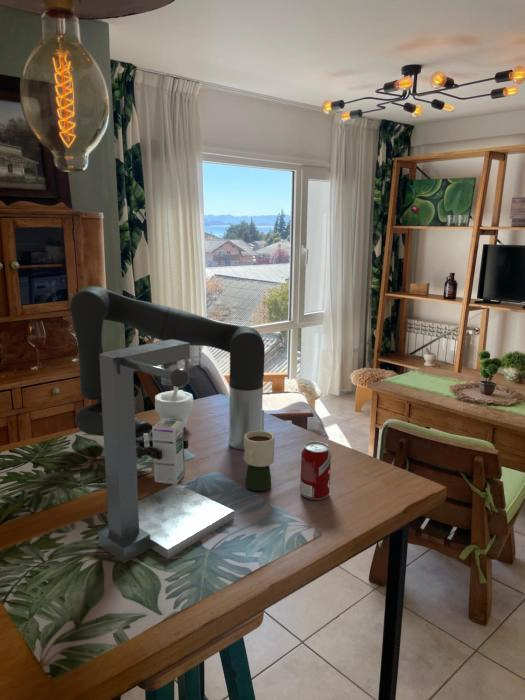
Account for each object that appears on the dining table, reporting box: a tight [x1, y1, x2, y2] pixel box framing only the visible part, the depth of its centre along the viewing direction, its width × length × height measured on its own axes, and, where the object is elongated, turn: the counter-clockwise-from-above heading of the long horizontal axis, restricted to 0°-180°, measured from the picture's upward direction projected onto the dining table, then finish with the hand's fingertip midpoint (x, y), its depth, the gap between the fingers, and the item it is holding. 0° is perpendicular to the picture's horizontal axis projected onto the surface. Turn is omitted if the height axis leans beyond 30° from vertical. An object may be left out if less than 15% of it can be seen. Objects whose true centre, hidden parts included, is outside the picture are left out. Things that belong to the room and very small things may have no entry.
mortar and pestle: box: [154, 357, 194, 429], centre depth 156 cm, size 13×12×25 cm
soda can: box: [299, 441, 332, 501], centre depth 119 cm, size 7×7×12 cm
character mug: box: [243, 430, 276, 491], centre depth 122 cm, size 11×7×13 cm, turn 157°
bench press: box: [97, 339, 235, 564], centre depth 99 cm, size 24×27×38 cm
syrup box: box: [152, 418, 186, 485], centre depth 125 cm, size 6×6×14 cm
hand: (174, 450), depth 123 cm, fingers closed on syrup box, 7 cm apart
